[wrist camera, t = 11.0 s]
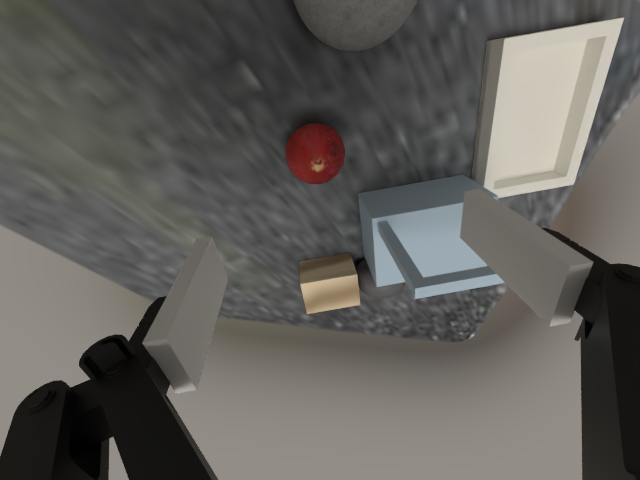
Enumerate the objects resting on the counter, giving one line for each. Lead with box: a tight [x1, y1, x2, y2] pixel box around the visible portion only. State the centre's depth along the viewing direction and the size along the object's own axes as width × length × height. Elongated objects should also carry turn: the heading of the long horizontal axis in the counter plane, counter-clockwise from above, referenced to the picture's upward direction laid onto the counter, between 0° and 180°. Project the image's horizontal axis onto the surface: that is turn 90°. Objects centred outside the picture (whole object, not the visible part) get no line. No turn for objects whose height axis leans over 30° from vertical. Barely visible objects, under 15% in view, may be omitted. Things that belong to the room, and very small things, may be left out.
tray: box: [471, 18, 624, 198], centre depth 32 cm, size 16×11×3 cm
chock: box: [299, 253, 360, 314], centre depth 40 cm, size 5×7×5 cm
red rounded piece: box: [286, 123, 345, 184], centre depth 29 cm, size 6×6×8 cm
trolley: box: [357, 174, 505, 299], centre depth 32 cm, size 12×14×18 cm
